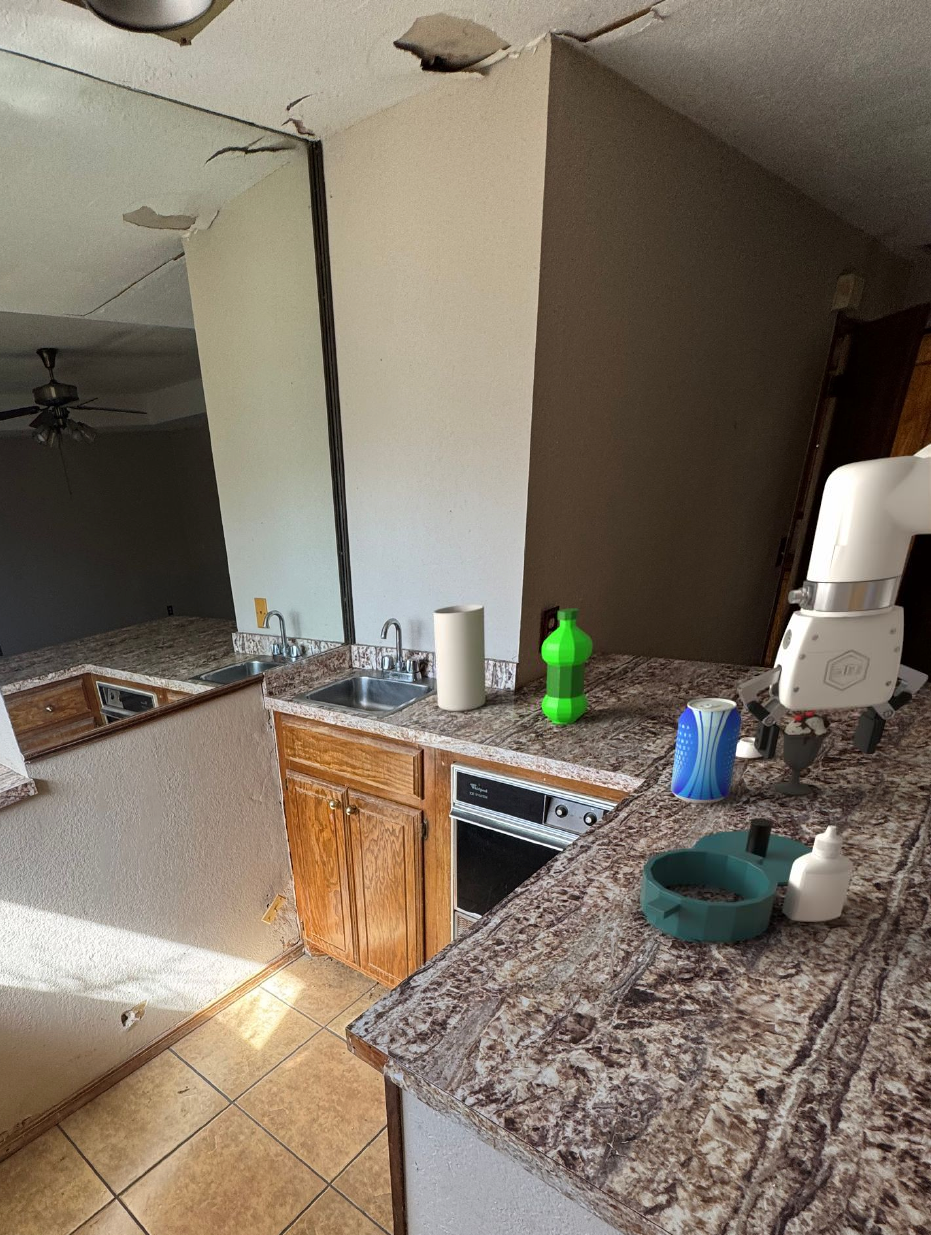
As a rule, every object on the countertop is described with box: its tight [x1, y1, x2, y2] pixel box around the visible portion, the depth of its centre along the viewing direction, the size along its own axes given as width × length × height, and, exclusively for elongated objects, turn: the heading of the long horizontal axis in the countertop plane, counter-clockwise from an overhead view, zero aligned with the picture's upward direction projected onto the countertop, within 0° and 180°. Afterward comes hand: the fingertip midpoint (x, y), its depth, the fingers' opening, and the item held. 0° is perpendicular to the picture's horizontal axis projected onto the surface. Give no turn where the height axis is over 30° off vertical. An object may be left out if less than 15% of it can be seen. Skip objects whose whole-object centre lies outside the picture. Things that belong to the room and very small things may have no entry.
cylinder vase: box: [433, 603, 486, 712], centre depth 169 cm, size 12×12×25 cm
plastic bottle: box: [541, 607, 594, 725], centre depth 146 cm, size 10×10×25 cm
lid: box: [693, 817, 813, 886], centre depth 87 cm, size 15×15×6 cm
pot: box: [639, 848, 778, 945], centre depth 79 cm, size 14×19×6 cm
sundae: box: [773, 710, 833, 796], centre depth 103 cm, size 7×7×15 cm
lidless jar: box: [735, 736, 763, 759], centre depth 120 cm, size 5×3×5 cm
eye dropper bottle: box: [781, 825, 854, 923], centre depth 74 cm, size 4×6×12 cm
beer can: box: [670, 697, 742, 804], centre depth 104 cm, size 8×8×16 cm
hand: (813, 752), depth 74 cm, fingers open, 9 cm apart
